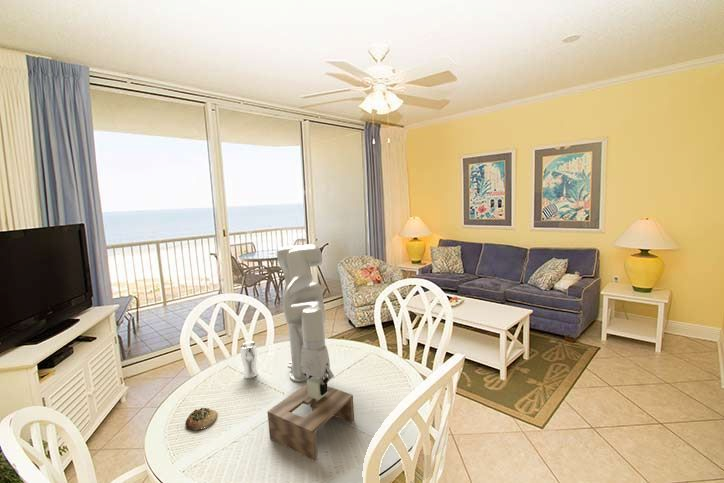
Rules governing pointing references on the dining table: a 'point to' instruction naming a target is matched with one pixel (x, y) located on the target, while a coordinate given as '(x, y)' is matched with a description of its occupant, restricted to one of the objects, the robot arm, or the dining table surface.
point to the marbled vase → (249, 359)
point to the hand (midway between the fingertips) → (317, 390)
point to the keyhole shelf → (307, 418)
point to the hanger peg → (314, 388)
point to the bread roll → (201, 418)
